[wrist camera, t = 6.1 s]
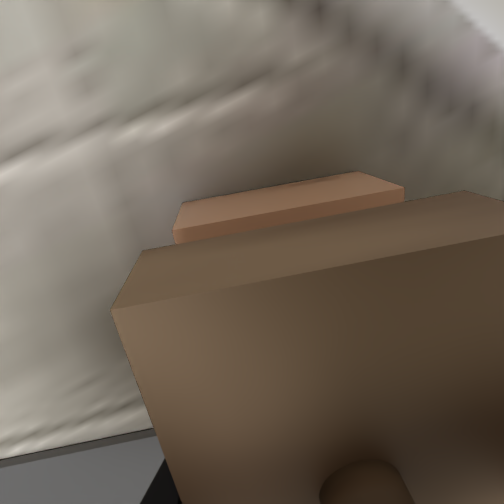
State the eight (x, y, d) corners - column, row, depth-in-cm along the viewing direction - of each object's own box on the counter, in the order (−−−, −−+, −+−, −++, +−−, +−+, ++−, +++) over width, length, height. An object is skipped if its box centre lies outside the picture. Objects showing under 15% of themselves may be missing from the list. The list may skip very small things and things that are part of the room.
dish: (365, 376, 15) (400, 435, 12) (231, 403, 14) (235, 471, 12) (357, 170, 11) (404, 187, 9) (182, 202, 11) (171, 230, 8)
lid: (439, 493, 10) (522, 632, 8) (231, 540, 10) (237, 700, 7) (464, 190, 7) (640, 239, 4) (142, 250, 6) (88, 348, 4)
